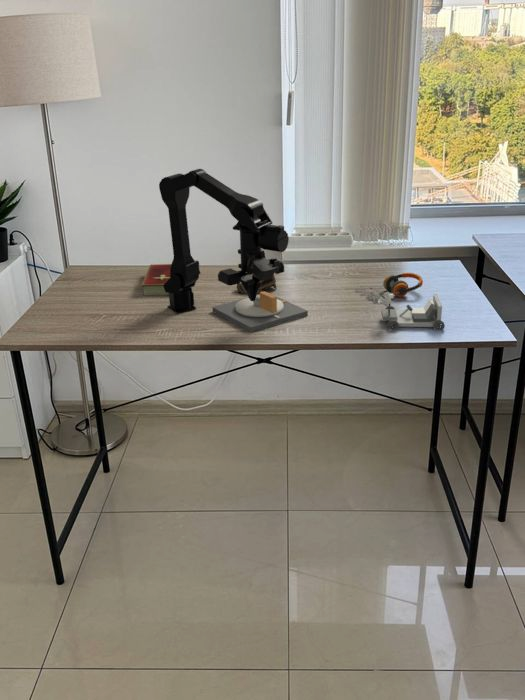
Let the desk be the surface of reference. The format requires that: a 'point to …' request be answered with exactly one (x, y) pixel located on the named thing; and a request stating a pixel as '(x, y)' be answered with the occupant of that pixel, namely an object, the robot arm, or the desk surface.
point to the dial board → (259, 323)
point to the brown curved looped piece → (263, 286)
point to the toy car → (412, 314)
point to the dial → (260, 306)
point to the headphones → (396, 285)
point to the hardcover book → (156, 279)
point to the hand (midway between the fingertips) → (252, 300)
